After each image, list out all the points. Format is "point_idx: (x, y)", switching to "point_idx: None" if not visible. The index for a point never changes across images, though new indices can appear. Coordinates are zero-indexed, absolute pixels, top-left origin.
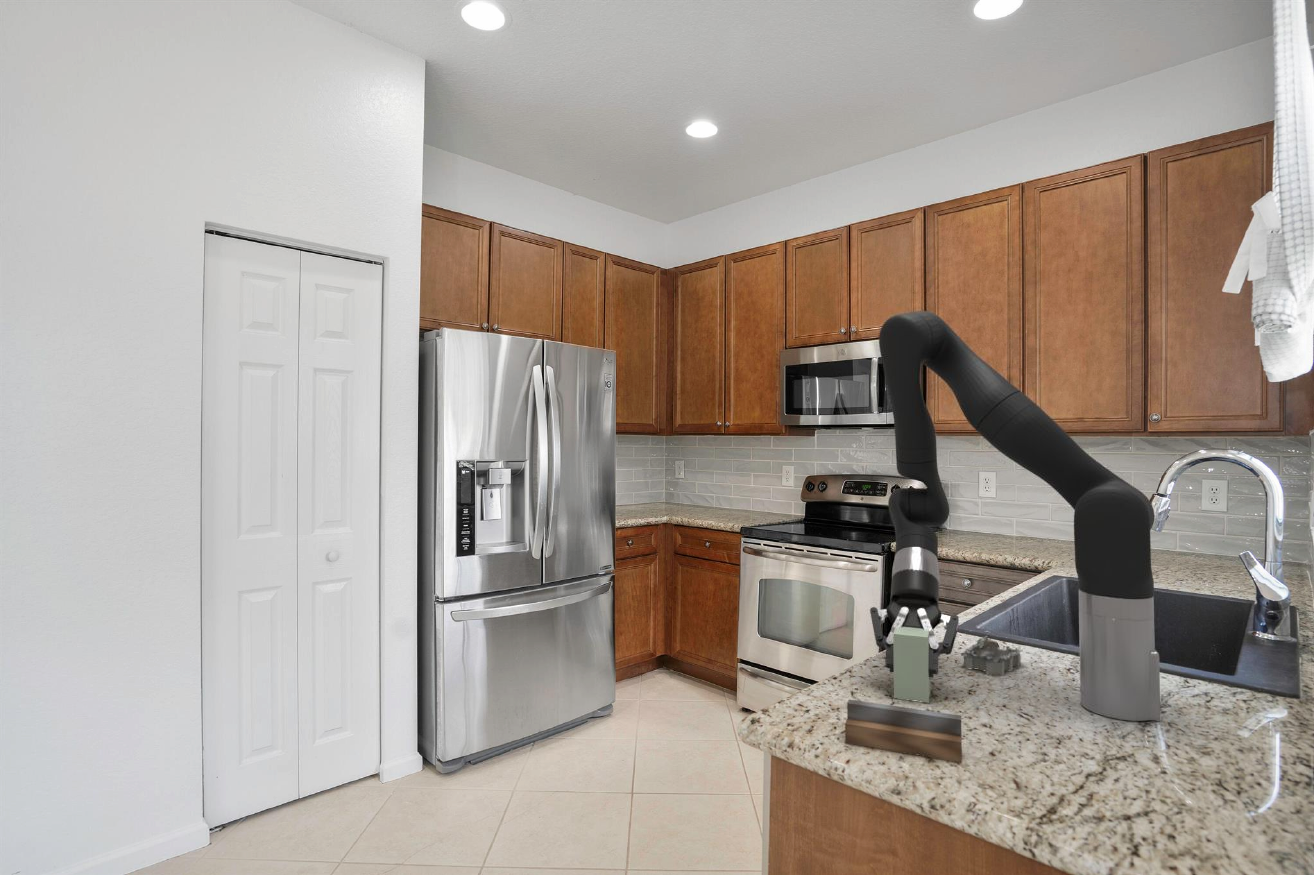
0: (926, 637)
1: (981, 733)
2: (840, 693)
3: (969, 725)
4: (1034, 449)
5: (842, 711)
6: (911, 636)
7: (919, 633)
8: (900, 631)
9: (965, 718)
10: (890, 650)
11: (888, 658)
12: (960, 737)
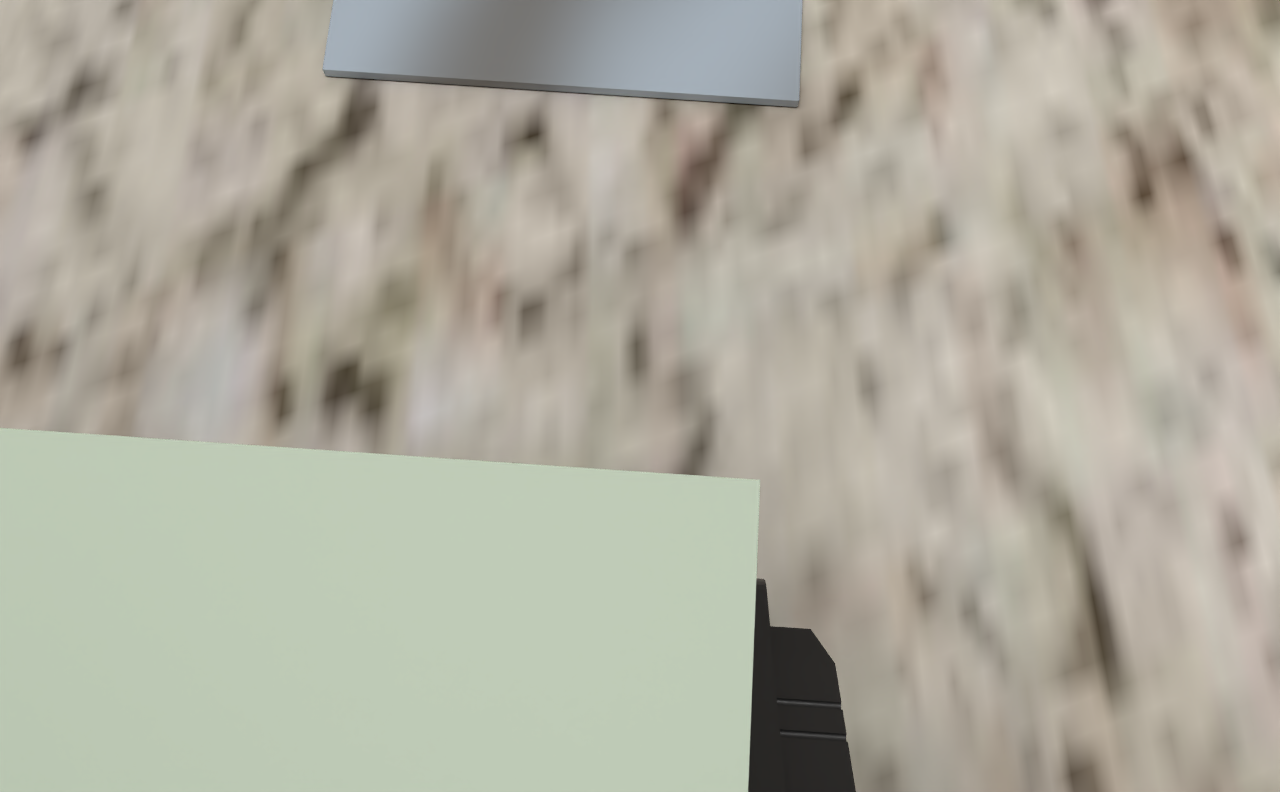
0: (17, 430)
1: (6, 52)
2: (1207, 576)
3: (65, 177)
4: None
5: (1093, 136)
6: (351, 458)
7: (131, 734)
8: (594, 776)
9: (65, 318)
10: (778, 757)
11: (792, 696)
12: None
